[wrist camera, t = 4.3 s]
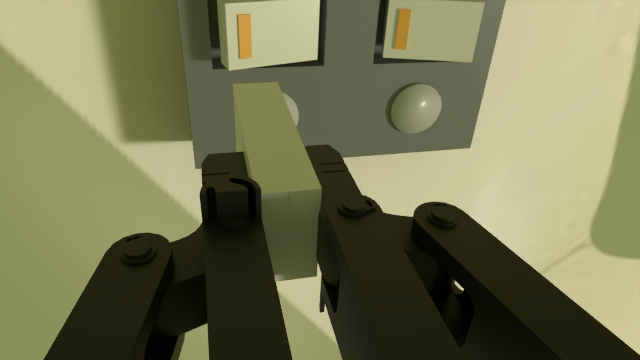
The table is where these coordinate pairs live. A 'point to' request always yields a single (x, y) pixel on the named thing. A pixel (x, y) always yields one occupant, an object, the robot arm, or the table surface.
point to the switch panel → (341, 85)
